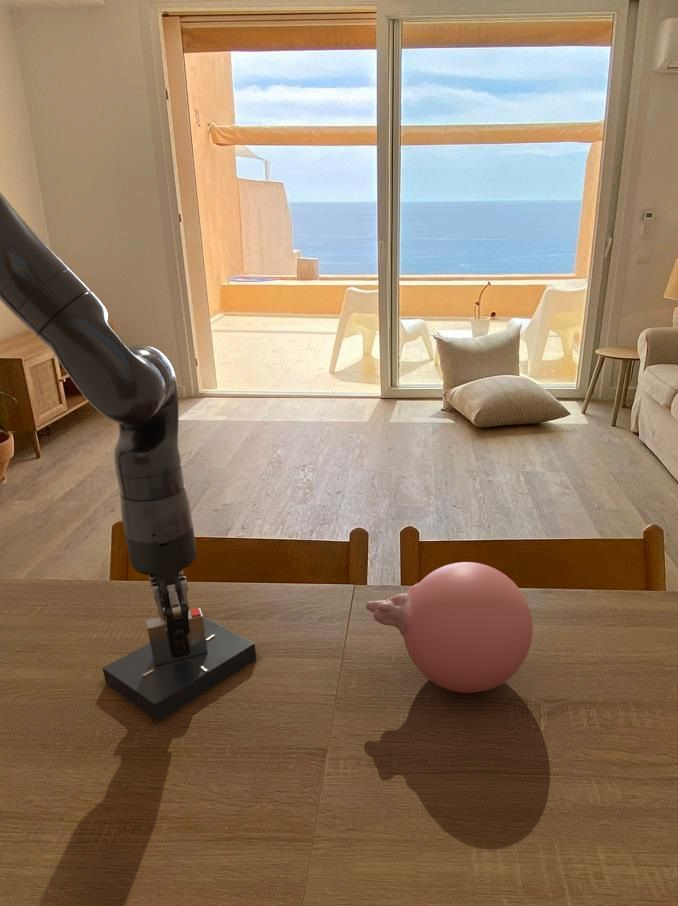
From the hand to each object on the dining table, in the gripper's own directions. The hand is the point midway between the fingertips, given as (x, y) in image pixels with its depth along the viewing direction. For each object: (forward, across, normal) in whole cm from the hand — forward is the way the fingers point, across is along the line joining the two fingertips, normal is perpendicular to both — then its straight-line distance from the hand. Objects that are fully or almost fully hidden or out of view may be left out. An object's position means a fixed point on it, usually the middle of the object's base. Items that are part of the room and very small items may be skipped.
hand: (179, 649), depth 87 cm
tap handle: (+1, 0, 0) cm, 1 cm away
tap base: (+3, 0, 0) cm, 3 cm away
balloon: (+4, +15, +30) cm, 34 cm away
